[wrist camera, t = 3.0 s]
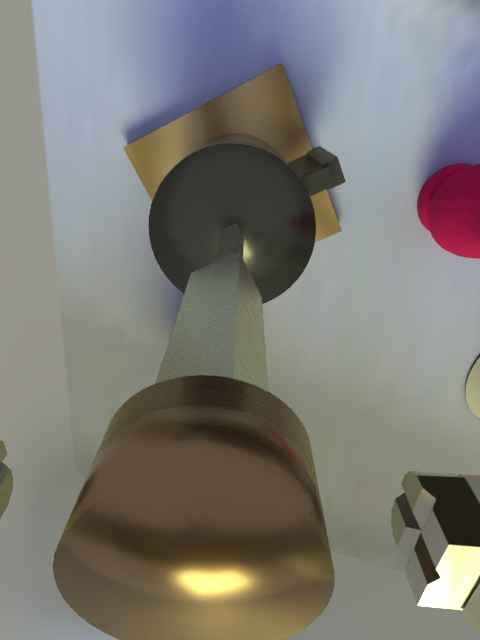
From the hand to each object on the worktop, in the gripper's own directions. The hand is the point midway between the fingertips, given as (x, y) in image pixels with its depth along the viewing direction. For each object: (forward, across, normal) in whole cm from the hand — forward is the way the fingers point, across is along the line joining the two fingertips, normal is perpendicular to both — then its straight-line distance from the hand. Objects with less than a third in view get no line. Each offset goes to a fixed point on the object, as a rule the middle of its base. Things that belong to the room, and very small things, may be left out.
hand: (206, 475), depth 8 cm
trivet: (+32, 0, 0) cm, 32 cm away
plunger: (+10, 0, 0) cm, 10 cm away
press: (+30, +1, +1) cm, 30 cm away
